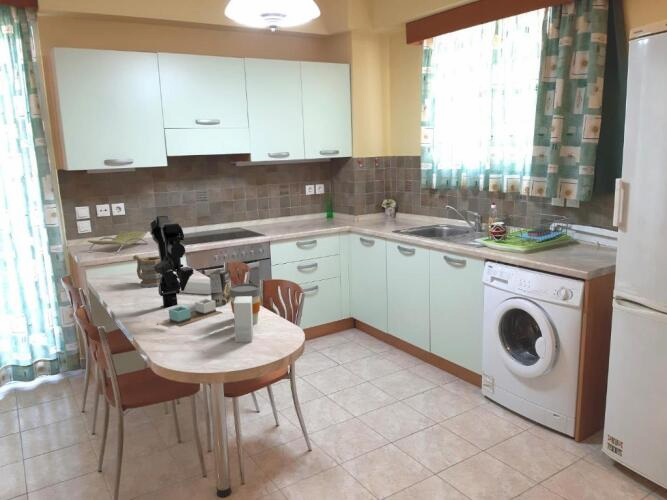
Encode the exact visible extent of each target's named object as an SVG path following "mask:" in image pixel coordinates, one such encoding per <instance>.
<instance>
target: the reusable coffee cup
mask: <svg viewBox="0 0 667 500" xmlns="http://www.w3.org/2000/svg"><path fill="white" fill-rule="evenodd" d="M261 293H262V291H261V286H260V285H258V284H256V283H240V284H235V285H231V287H230V297H231V301H230V307H231V312H232V314H234V300H235V297H240V296H252V315H253V326H255V325H257V324H258V321H259V312H260V309H261V299H260V296H261Z"/></svg>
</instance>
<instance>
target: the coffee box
mask: <svg viewBox="0 0 667 500" xmlns="http://www.w3.org/2000/svg"><path fill="white" fill-rule="evenodd" d="M209 277H210V278H209V280H210V285H211V295H210V300H213V301H215V305H216V306H219V307H224V306H226V305H228V304H229V303H231V297H230V287H232V282H231V280H232V278H231V269H228V268H227V269H223V268H222V269H216V270H214V271H212V272H210V273H209Z"/></svg>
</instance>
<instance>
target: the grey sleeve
mask: <svg viewBox="0 0 667 500" xmlns="http://www.w3.org/2000/svg"><path fill="white" fill-rule="evenodd" d="M204 302H206V303H205V304H203V303H204ZM216 306H217V305H215V301H213V300H211V299H208V298H205V299H204V298H203V299H200V300H197V301H195V302H194V307H195V310H194V311H196V313H197V314H200V315H204V316H206V315H209V314H212V313H215V312H216V311H217V307H216Z"/></svg>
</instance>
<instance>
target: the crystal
mask: <svg viewBox="0 0 667 500" xmlns="http://www.w3.org/2000/svg"><path fill="white" fill-rule="evenodd" d="M180 293H184V294H185V293H186V294H199V295H209V294H210V296H211V285H210V279H206V278H193V277H192V278H189V280H188V282H187V284H186V287H185V289H184V291H181V287H180Z"/></svg>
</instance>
